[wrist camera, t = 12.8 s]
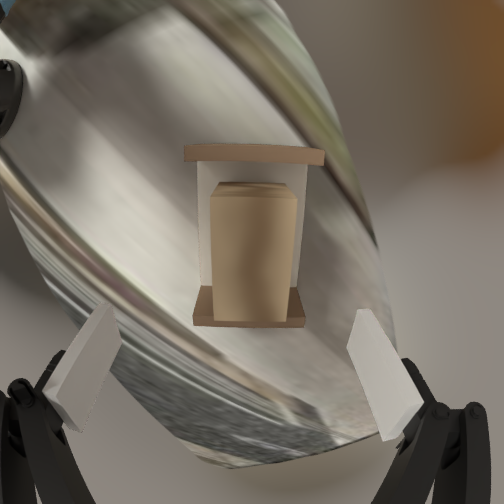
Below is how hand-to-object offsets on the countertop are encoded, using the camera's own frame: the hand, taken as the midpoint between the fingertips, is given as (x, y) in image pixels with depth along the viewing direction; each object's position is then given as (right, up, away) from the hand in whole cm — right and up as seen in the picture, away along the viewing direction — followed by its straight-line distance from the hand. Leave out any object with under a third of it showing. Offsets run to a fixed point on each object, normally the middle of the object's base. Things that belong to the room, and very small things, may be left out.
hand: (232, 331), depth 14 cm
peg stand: (+1, +8, +21) cm, 23 cm away
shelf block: (+1, +6, +18) cm, 19 cm away
